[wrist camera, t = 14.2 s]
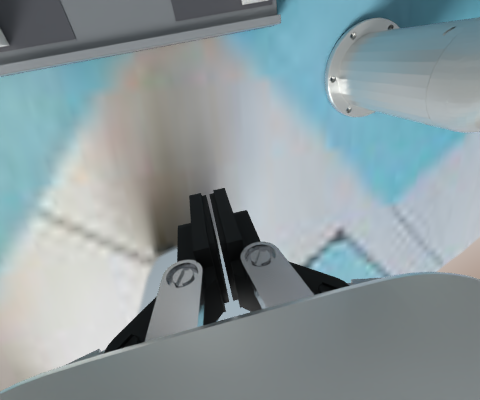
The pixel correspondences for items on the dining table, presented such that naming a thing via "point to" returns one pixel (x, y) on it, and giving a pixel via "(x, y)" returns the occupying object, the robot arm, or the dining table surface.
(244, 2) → the tab
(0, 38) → the tab
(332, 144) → the dining table surface
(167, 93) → the dining table surface
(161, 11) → the switch board
